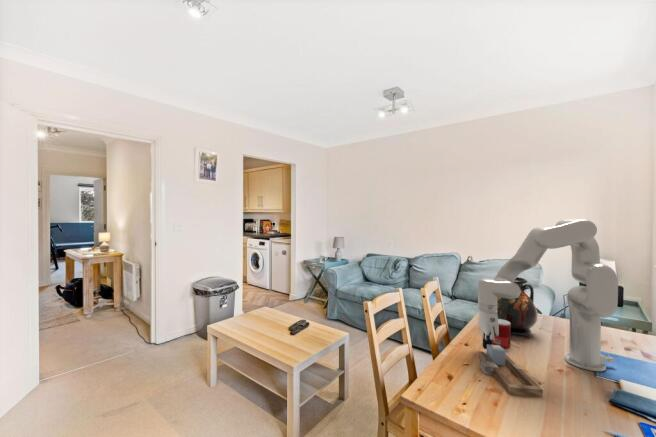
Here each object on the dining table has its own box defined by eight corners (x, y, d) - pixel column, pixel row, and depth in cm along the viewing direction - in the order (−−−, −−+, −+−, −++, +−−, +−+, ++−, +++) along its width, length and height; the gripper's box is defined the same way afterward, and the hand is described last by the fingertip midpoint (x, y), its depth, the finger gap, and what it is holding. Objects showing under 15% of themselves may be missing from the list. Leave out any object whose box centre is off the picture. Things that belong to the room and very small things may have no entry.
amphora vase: (494, 336, 141) (495, 281, 141) (484, 321, 162) (484, 273, 162) (545, 342, 135) (545, 284, 135) (527, 326, 155) (528, 275, 155)
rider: (499, 359, 118) (499, 344, 118) (505, 365, 113) (505, 349, 113) (486, 358, 118) (486, 343, 118) (492, 364, 113) (492, 348, 113)
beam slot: (504, 358, 119) (504, 351, 119) (542, 396, 93) (542, 387, 93) (471, 356, 121) (471, 349, 121) (500, 393, 95) (500, 384, 95)
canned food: (513, 349, 128) (513, 325, 128) (494, 347, 129) (494, 323, 129) (506, 341, 135) (506, 319, 135) (488, 340, 137) (488, 317, 137)
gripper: (505, 313, 116) (504, 357, 116) (489, 302, 130) (488, 341, 130) (485, 312, 117) (485, 356, 117) (472, 301, 131) (471, 340, 131)
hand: (487, 348), depth 124 cm, fingers closed
